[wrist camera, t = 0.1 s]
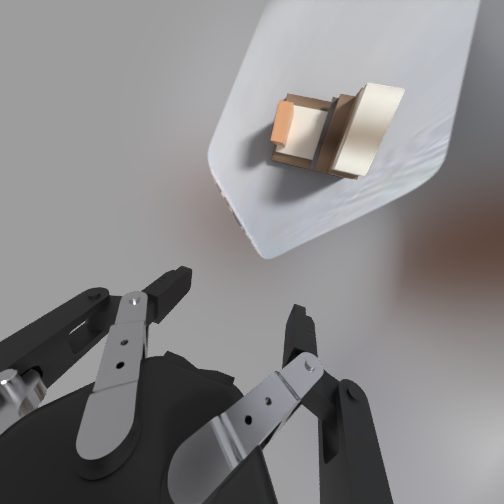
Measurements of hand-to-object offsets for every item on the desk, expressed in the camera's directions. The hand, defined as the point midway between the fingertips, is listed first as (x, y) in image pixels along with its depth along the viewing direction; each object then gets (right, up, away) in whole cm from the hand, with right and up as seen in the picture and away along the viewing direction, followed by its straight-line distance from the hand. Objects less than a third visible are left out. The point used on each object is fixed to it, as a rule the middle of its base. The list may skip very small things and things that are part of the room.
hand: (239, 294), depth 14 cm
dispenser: (+14, +23, +19) cm, 33 cm away
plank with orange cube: (+10, +23, +18) cm, 31 cm away
